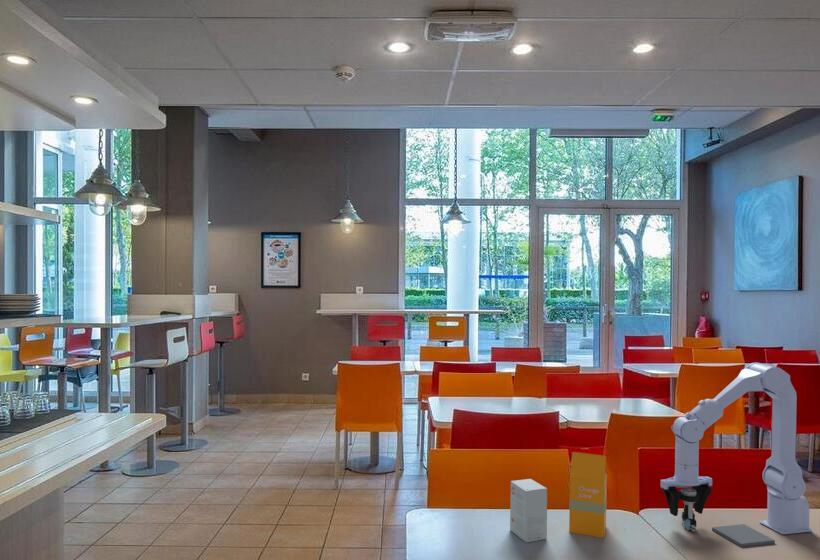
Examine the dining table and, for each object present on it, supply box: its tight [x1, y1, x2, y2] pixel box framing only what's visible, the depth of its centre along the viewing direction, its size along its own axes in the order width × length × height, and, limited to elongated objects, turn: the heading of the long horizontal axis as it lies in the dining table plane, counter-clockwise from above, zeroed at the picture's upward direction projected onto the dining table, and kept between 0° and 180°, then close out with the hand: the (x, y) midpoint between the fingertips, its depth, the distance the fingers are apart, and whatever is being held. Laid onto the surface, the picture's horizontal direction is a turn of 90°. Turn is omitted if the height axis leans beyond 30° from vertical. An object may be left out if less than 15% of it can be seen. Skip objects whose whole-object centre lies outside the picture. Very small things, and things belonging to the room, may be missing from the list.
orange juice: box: [568, 451, 608, 538], centre depth 158 cm, size 8×9×20 cm
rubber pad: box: [711, 523, 776, 548], centre depth 154 cm, size 10×10×1 cm
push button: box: [677, 487, 700, 532], centre depth 159 cm, size 7×5×10 cm
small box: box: [509, 478, 548, 543], centre depth 154 cm, size 8×6×13 cm
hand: (686, 513), depth 160 cm, fingers open, 7 cm apart
